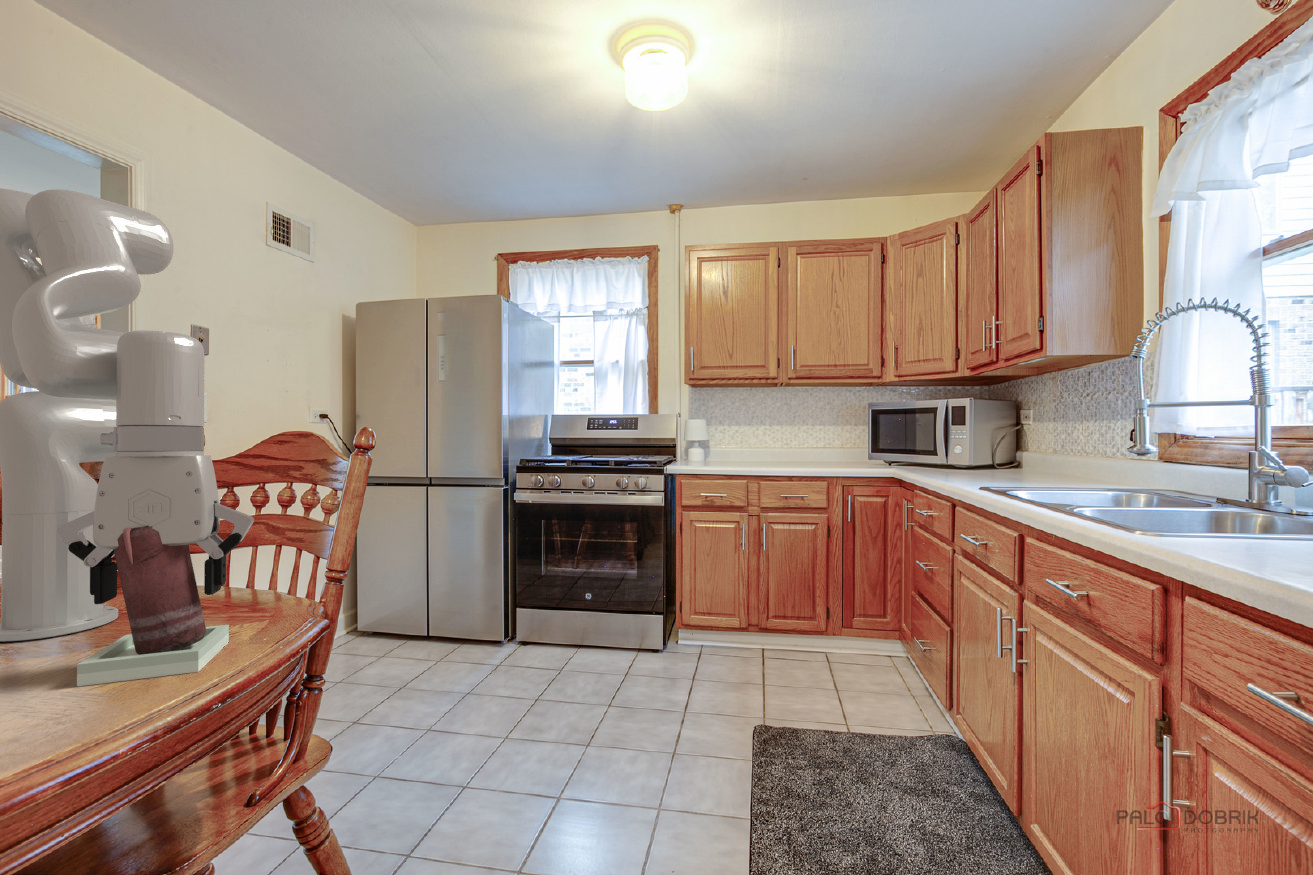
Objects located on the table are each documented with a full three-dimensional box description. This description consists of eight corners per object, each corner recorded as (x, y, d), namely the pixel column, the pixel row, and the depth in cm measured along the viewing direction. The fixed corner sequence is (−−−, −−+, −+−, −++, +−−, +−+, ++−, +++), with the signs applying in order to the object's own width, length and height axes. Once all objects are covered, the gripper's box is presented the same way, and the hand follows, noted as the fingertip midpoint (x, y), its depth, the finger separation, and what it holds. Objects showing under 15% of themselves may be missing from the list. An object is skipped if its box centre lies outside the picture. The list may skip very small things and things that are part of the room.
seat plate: (125, 653, 68) (125, 634, 68) (228, 642, 71) (228, 624, 71) (77, 686, 58) (77, 664, 58) (198, 671, 62) (198, 650, 62)
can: (122, 665, 61) (94, 534, 60) (156, 644, 67) (130, 526, 66) (190, 648, 62) (162, 521, 62) (217, 630, 69) (192, 514, 68)
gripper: (39, 443, 59) (37, 614, 58) (243, 442, 65) (242, 596, 64) (80, 444, 65) (79, 596, 65) (261, 443, 72) (261, 582, 71)
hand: (160, 596), depth 65 cm, fingers open, 9 cm apart
